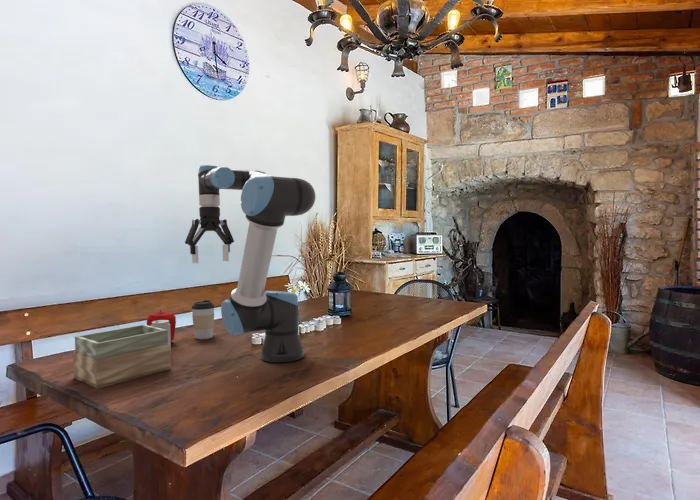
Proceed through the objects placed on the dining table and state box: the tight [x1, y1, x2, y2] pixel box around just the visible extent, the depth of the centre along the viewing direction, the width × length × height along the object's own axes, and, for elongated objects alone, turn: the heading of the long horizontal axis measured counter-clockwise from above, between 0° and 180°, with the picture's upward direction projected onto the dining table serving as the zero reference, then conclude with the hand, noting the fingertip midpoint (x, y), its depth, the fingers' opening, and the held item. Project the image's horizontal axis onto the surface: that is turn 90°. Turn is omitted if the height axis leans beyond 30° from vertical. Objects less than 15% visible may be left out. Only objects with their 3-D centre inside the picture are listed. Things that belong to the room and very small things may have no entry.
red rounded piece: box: [146, 309, 177, 342], centre depth 173 cm, size 11×10×14 cm
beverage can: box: [151, 320, 172, 352], centre depth 159 cm, size 6×6×12 cm
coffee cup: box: [191, 299, 215, 340], centre depth 183 cm, size 9×9×15 cm
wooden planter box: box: [72, 324, 172, 390], centre depth 138 cm, size 16×22×12 cm
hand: (211, 262), depth 172 cm, fingers open, 13 cm apart
